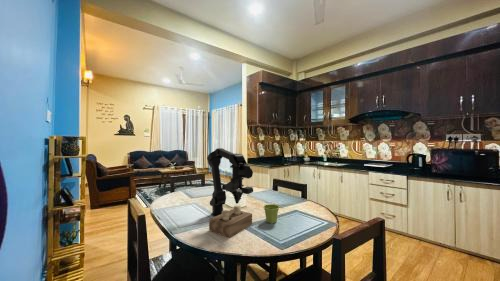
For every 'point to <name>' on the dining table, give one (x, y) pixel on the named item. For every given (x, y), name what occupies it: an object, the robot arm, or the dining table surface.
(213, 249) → the dining table surface
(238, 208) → the peg far
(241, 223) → the jig block
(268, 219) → the plant pot
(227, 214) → the peg near
